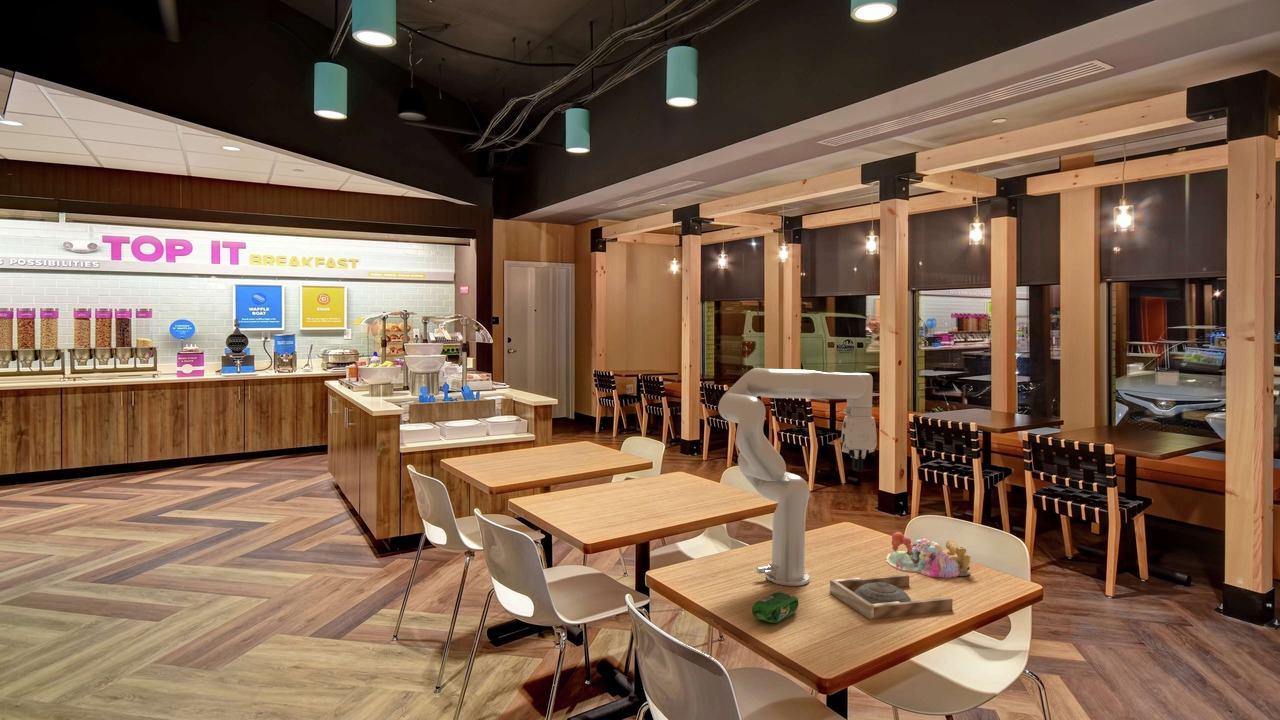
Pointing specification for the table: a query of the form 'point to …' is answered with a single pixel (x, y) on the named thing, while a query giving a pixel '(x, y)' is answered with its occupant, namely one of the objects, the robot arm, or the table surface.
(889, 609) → the bay
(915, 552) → the candy landscape model
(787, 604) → the snack package
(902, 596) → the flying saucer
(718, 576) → the table surface
